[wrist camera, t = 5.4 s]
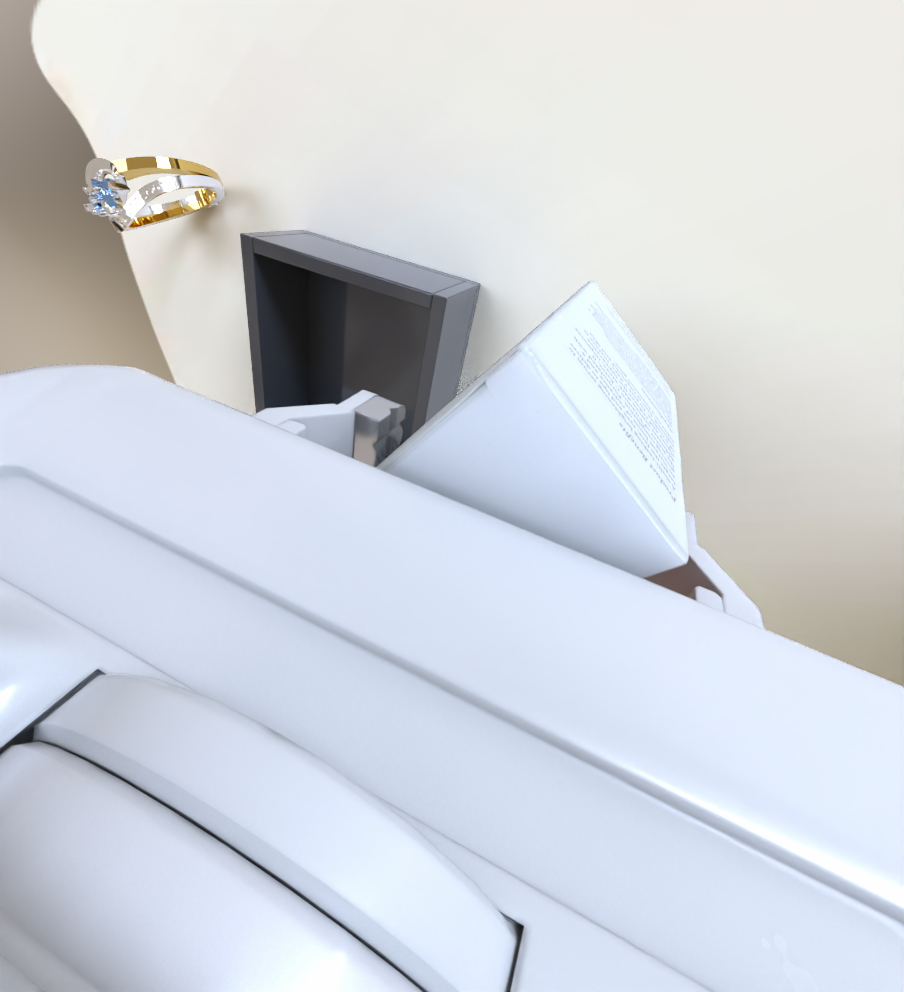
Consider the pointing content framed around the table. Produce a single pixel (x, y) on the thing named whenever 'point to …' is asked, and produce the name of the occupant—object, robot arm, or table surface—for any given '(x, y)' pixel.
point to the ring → (148, 190)
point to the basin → (352, 325)
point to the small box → (565, 442)
